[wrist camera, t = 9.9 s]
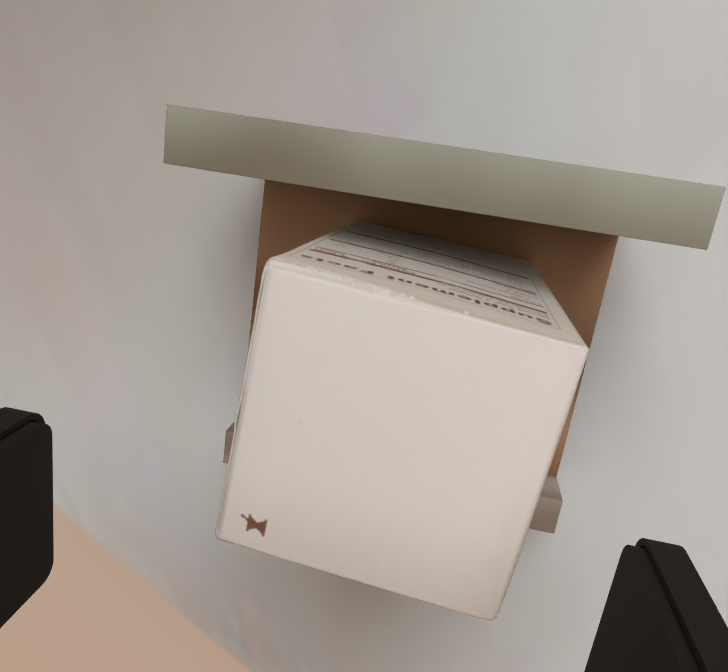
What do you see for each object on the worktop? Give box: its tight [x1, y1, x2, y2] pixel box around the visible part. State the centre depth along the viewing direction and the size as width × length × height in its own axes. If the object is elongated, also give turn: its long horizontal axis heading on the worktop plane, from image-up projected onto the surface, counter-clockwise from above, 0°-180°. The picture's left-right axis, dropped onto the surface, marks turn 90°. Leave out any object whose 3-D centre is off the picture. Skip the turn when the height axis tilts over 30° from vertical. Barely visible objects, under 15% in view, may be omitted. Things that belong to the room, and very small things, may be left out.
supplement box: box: [215, 220, 589, 620], centre depth 20 cm, size 7×7×13 cm
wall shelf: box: [164, 104, 726, 534], centre depth 23 cm, size 14×14×12 cm
